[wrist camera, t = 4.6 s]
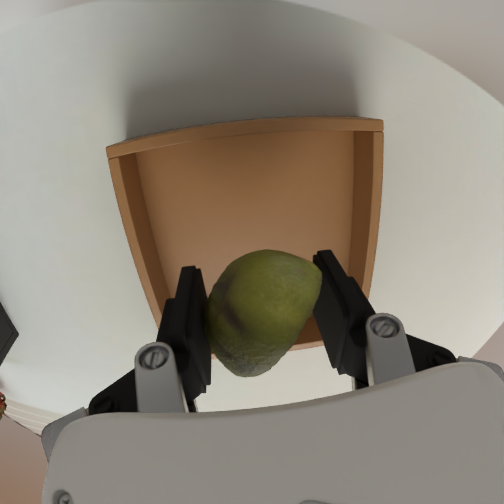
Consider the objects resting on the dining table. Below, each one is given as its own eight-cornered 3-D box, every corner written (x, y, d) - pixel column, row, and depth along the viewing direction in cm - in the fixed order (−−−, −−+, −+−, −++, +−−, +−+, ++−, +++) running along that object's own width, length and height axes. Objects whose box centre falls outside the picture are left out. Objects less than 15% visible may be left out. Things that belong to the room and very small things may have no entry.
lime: (310, 225, 12) (356, 303, 7) (300, 314, 14) (326, 396, 10) (200, 230, 11) (187, 316, 7) (211, 320, 14) (209, 408, 9)
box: (125, 140, 14) (104, 147, 11) (360, 116, 14) (384, 119, 11) (176, 334, 20) (171, 361, 18) (348, 313, 21) (360, 338, 18)
